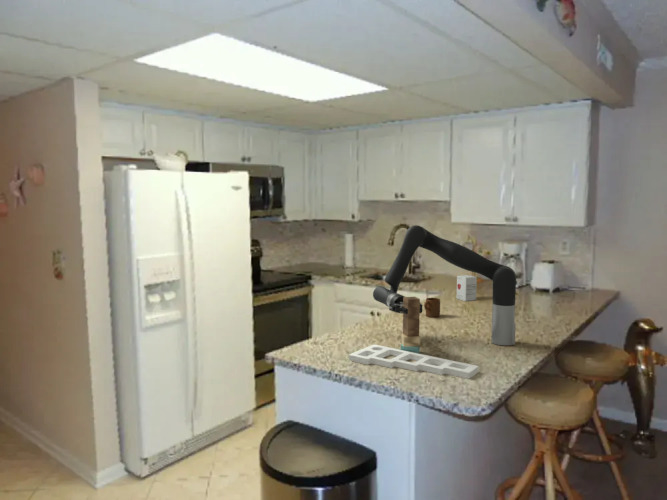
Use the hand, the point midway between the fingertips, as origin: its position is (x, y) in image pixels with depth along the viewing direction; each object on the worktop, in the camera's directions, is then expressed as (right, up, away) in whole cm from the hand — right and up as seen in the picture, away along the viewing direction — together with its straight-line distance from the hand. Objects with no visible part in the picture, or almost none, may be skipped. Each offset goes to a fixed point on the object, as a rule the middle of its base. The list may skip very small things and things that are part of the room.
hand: (414, 311), depth 195 cm
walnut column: (-1, -10, +3) cm, 11 cm away
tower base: (-1, -18, +4) cm, 18 cm away
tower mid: (-1, -14, +4) cm, 14 cm away
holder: (-3, -20, -11) cm, 23 cm away
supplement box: (+52, -7, +116) cm, 127 cm away
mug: (+20, -12, +68) cm, 72 cm away
